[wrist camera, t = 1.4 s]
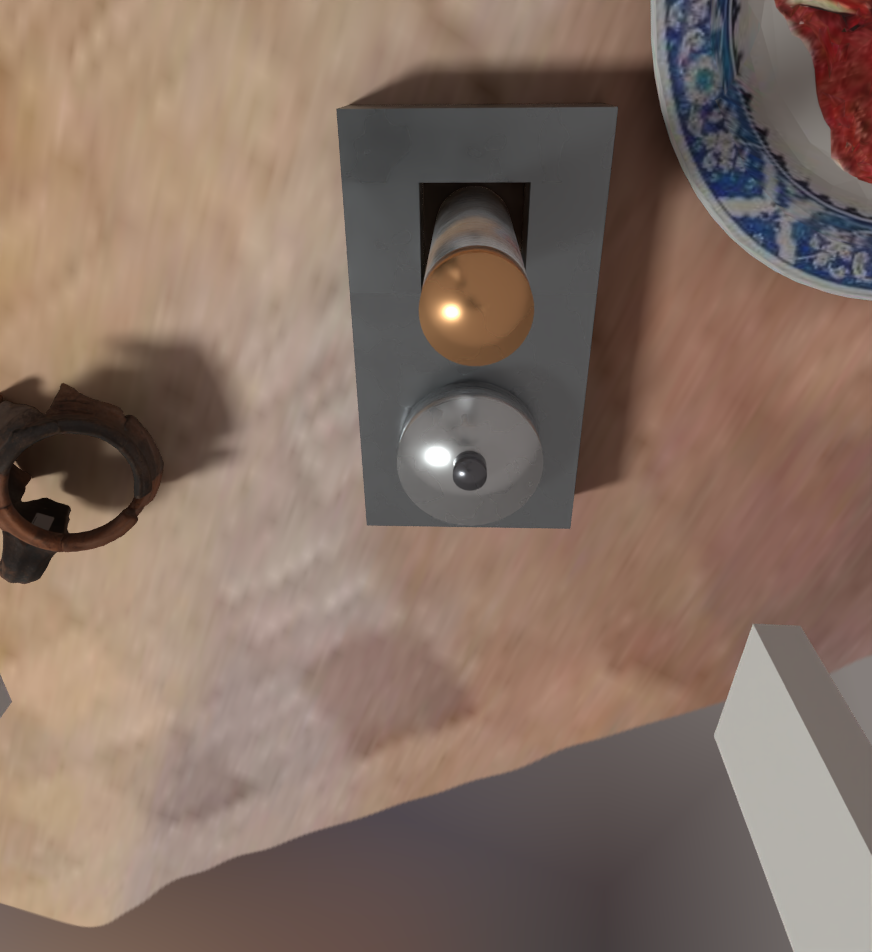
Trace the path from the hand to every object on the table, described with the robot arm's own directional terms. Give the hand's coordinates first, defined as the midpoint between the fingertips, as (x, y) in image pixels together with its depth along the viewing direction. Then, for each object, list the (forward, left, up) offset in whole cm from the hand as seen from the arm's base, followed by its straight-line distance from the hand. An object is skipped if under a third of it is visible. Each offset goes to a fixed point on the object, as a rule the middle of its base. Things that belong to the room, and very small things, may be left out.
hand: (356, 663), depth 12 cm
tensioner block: (+3, +2, -25) cm, 25 cm away
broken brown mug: (+10, -20, -25) cm, 34 cm away
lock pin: (-2, +2, -25) cm, 25 cm away
